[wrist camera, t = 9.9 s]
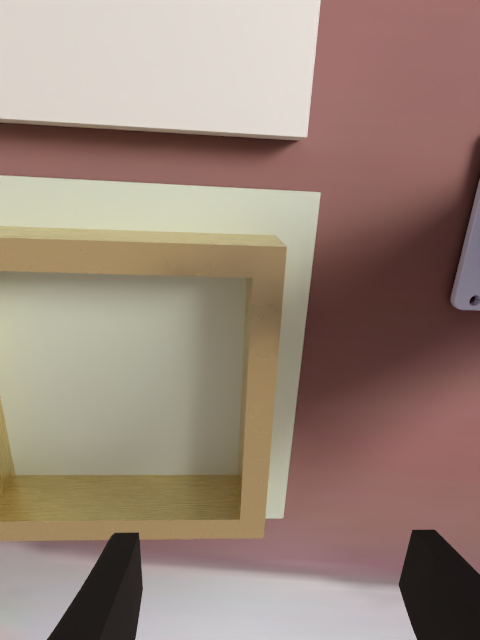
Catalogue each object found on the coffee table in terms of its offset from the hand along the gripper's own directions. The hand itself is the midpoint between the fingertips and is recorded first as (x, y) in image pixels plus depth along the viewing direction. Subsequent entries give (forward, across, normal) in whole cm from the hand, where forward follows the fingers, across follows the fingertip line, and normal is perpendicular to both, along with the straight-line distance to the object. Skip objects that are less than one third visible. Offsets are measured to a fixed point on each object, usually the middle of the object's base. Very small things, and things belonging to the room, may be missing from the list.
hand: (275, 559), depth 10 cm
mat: (+10, +6, 0) cm, 12 cm away
